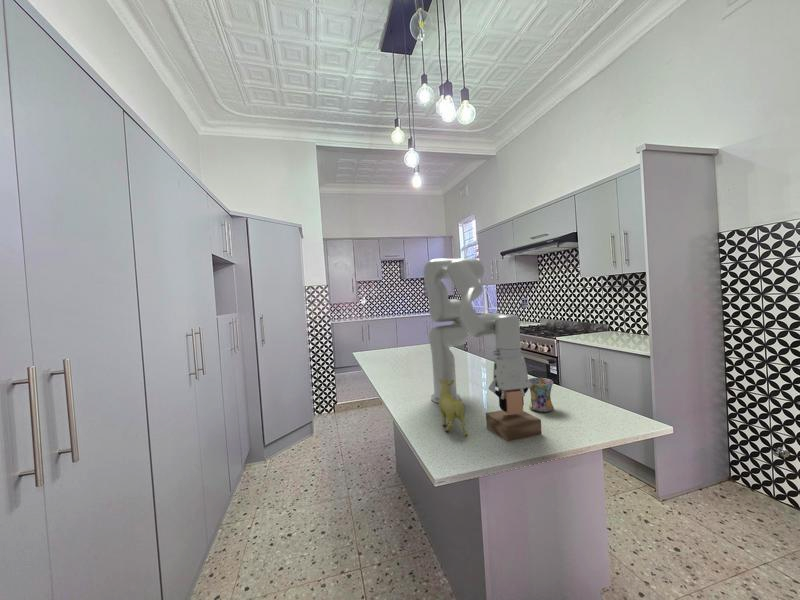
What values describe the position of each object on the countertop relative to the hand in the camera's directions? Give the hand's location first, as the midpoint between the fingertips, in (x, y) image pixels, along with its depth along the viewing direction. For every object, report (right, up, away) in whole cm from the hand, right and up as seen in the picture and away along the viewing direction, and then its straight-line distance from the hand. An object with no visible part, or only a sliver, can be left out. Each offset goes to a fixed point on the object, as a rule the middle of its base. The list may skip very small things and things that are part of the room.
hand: (511, 408), depth 105 cm
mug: (+17, -6, +18) cm, 25 cm away
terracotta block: (0, -1, 0) cm, 1 cm away
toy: (-18, -8, +6) cm, 21 cm away
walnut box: (+1, -8, 0) cm, 8 cm away
